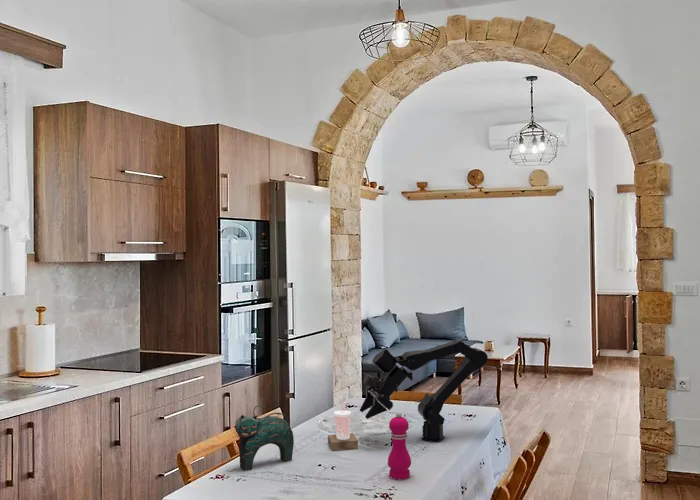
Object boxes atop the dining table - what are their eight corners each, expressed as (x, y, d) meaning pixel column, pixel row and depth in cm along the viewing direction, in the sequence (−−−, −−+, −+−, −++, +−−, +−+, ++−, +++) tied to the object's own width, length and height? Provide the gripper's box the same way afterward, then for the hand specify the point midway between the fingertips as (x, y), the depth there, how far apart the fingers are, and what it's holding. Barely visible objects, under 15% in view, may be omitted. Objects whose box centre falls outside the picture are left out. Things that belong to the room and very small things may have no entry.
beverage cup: (344, 441, 251) (343, 401, 250) (330, 438, 254) (330, 398, 254) (355, 437, 255) (354, 397, 255) (341, 434, 259) (341, 395, 259)
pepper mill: (413, 473, 226) (412, 409, 226) (408, 481, 219) (407, 415, 219) (391, 471, 229) (390, 408, 228) (385, 479, 222) (384, 414, 221)
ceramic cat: (240, 473, 229) (239, 410, 229) (232, 467, 235) (231, 406, 234) (296, 461, 240) (295, 401, 239) (287, 456, 245) (286, 397, 245)
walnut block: (352, 441, 260) (352, 433, 260) (357, 449, 252) (357, 440, 251) (327, 443, 259) (327, 435, 259) (332, 451, 250) (332, 442, 250)
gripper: (370, 361, 266) (342, 393, 264) (382, 371, 247) (352, 406, 246) (392, 381, 267) (363, 413, 266) (405, 392, 249) (375, 427, 247)
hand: (363, 414), depth 256 cm, fingers open, 9 cm apart
